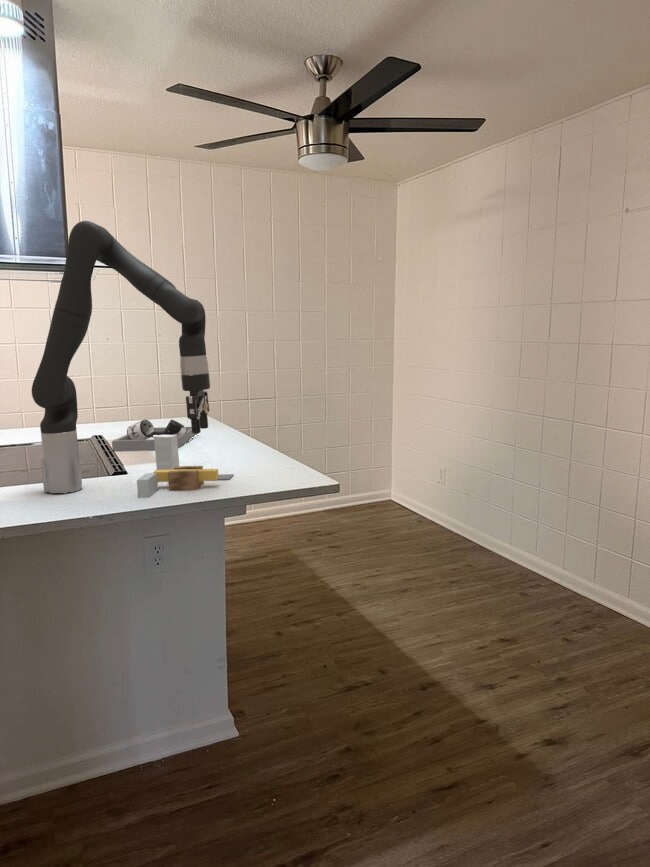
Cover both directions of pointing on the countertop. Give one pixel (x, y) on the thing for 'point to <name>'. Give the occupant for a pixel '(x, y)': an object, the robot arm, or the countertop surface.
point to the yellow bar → (202, 473)
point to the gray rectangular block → (147, 485)
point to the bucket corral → (147, 441)
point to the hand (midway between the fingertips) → (200, 430)
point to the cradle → (184, 479)
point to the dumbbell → (146, 430)
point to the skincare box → (166, 452)
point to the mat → (225, 476)
